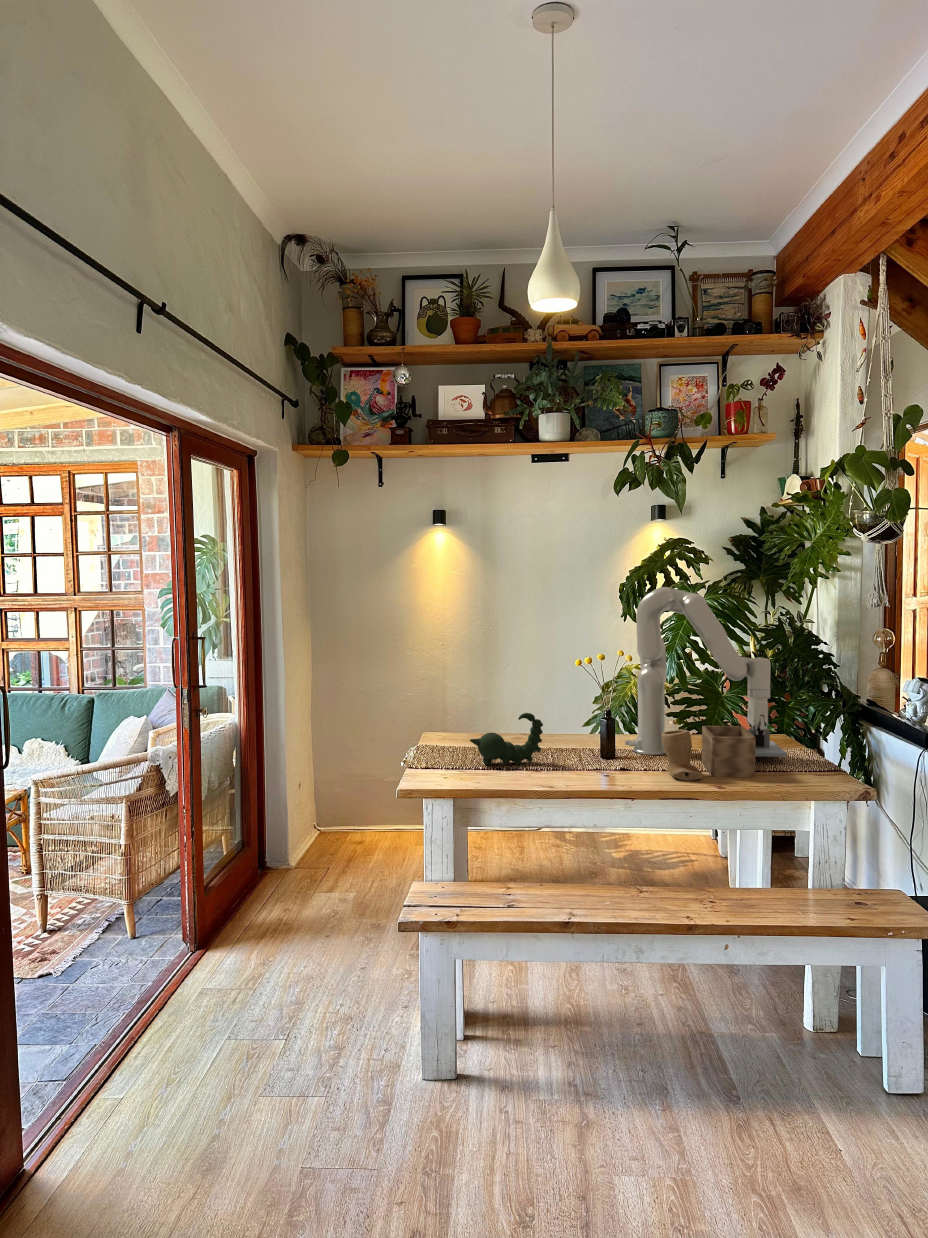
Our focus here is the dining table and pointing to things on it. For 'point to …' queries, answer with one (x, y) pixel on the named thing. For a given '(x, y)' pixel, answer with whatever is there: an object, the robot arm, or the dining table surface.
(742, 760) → the crate
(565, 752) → the dining table surface
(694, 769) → the tan boot
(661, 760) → the dining table surface
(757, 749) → the lid
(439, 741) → the dining table surface
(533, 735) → the toy figurine
